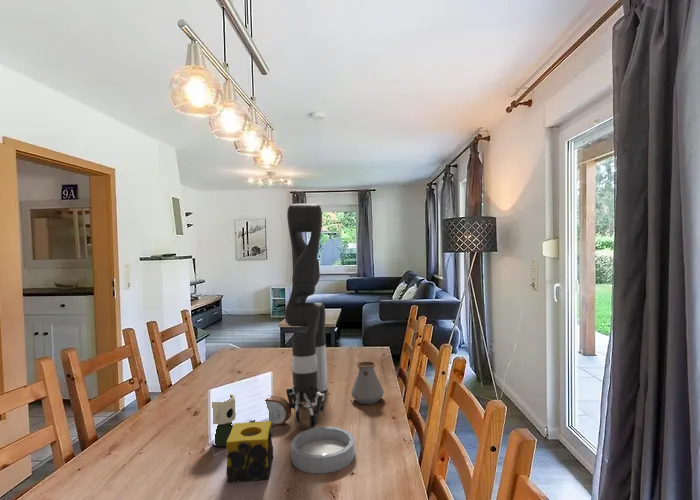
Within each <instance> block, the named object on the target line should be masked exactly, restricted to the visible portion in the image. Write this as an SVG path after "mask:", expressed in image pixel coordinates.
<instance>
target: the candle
mask: <svg viewBox="0 0 700 500" xmlns="http://www.w3.org/2000/svg"><path fill="white" fill-rule="evenodd" d="M272 436H273V434H272V422H271V421H266V422H254V421H252V422H235V423H233V427H232V430H231V433H230V435H229V437H228V439H227V442H226V446H225V447H226V471H225V472H226V481H227V483H229V484H230V483H240V482H241V483H243V482H252V481H253V482H254V481H265V480H267V481H268V480H269V478H270V475H271V472H272V471H271V470H272V465H273V460H274V446H273V440H272V439H273V438H272Z"/></svg>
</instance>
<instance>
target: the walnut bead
mask: <svg viewBox="0 0 700 500" xmlns="http://www.w3.org/2000/svg"><path fill="white" fill-rule="evenodd" d="M313 409H314V408H313ZM310 415H311V414H310V410H309V408H308V407H307V404H303V406H300V407H299V424H298V425H299V427H298V428H299V429H300V431H301V432H303V431H306V430H309V429H312V428H316V426H315V427H311V426H310Z"/></svg>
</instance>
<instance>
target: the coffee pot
mask: <svg viewBox="0 0 700 500" xmlns="http://www.w3.org/2000/svg"><path fill="white" fill-rule="evenodd" d="M356 366H357V368H358V369H359V371H358V373H357V376H356V378H355V381H354V383H353V386H352V390H351V391H350V393H351V397H352V398H354V400H356V402H357V403H359V404H362V405H373V404H376V403H378V402H379V400H381V399H382V398H383V396H384V394H385V392H384V388H383V386H382V384H381V382H380V379H379V378H378V375H377V373H376V371H375V366H376V362H374V361H369V360H368V361H367V360H366V361H360V362H357V363H356Z"/></svg>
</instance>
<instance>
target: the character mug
mask: <svg viewBox="0 0 700 500" xmlns="http://www.w3.org/2000/svg"><path fill="white" fill-rule="evenodd" d="M229 394H230V398H231V399H229V400H227V401H224V402H212V408H213V424H212V425H214V424H218V426H217V429H216V434H215V444H216V445H217V447H226V442H227V439H228V437H229V435H230V433H231V430H232V427H233V425H234V423H233V421H235V419H236V416H237V414H236V397H235V394H233V393H229ZM231 424H232V425H231Z"/></svg>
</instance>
